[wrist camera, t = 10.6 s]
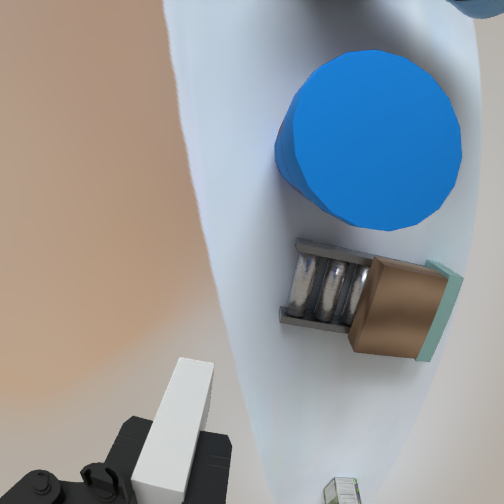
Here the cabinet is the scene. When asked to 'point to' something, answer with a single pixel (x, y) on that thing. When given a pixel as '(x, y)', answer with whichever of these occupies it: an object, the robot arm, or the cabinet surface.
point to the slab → (396, 309)
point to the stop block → (440, 310)
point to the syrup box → (342, 491)
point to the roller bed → (326, 286)
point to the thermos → (371, 141)
